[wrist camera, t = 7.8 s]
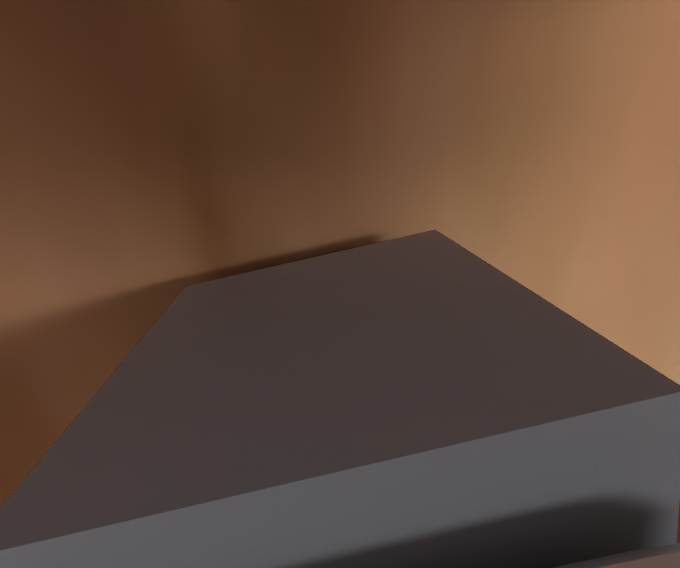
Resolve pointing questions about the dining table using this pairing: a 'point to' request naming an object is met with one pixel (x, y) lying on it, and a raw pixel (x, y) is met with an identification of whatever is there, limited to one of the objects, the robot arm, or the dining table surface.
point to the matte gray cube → (359, 429)
